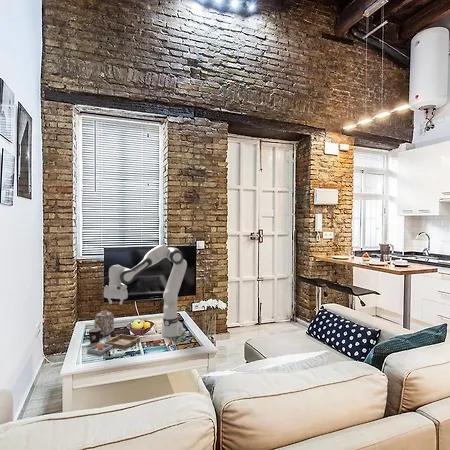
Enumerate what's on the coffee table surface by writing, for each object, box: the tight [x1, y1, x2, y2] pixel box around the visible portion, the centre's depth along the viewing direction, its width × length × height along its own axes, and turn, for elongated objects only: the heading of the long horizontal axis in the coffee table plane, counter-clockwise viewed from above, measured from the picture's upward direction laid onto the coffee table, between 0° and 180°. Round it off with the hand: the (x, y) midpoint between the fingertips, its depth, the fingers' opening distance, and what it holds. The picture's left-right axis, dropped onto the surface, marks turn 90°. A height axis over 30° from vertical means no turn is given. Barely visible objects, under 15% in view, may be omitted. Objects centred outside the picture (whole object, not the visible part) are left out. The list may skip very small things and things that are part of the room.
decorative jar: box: [93, 310, 115, 336], centre depth 270 cm, size 12×12×18 cm
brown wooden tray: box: [104, 333, 141, 350], centre depth 245 cm, size 18×18×4 cm
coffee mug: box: [83, 328, 101, 345], centre depth 248 cm, size 12×9×10 cm
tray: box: [86, 343, 114, 356], centre depth 233 cm, size 12×12×3 cm
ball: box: [96, 341, 105, 351], centre depth 233 cm, size 5×5×5 cm
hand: (115, 304), depth 248 cm, fingers open, 8 cm apart
